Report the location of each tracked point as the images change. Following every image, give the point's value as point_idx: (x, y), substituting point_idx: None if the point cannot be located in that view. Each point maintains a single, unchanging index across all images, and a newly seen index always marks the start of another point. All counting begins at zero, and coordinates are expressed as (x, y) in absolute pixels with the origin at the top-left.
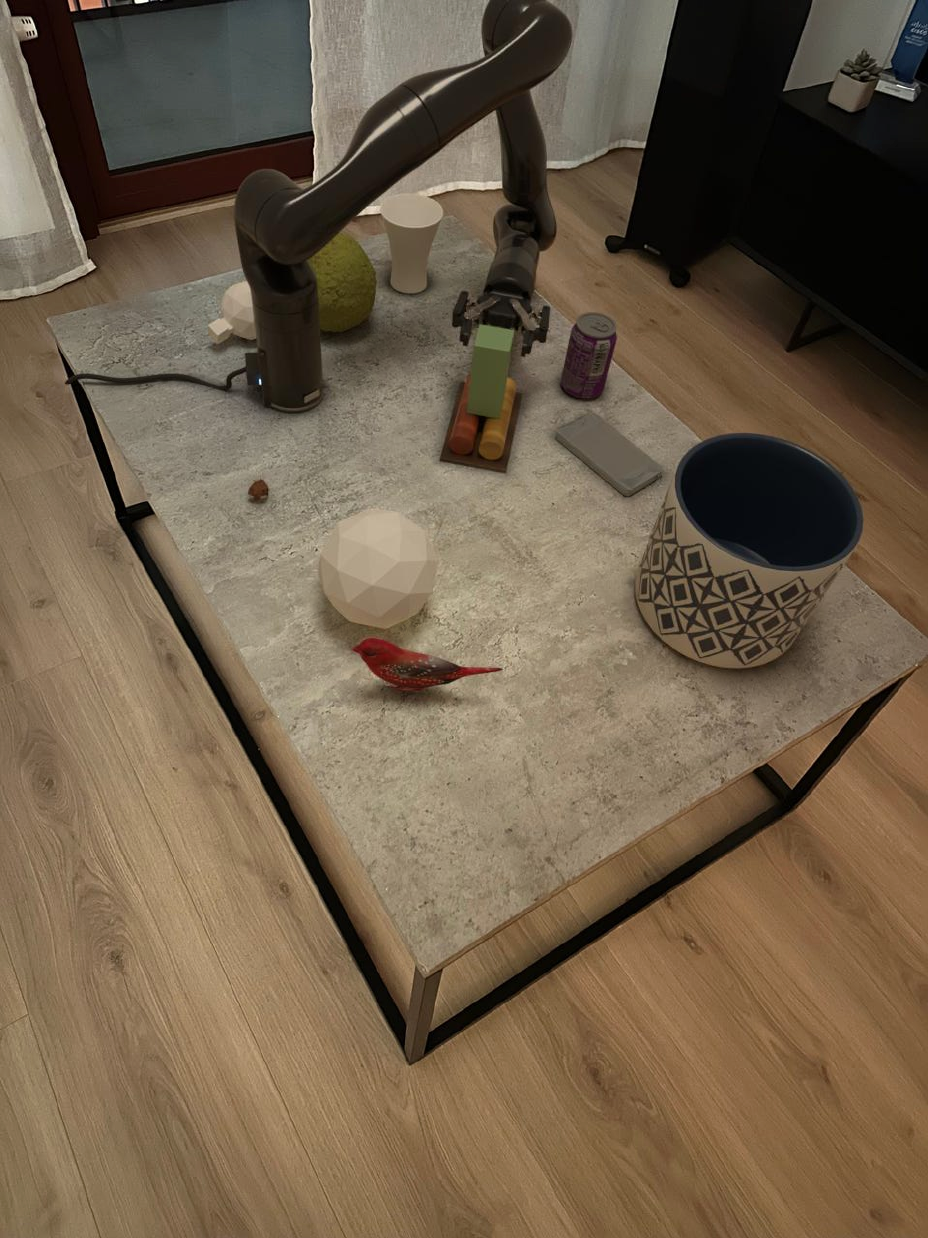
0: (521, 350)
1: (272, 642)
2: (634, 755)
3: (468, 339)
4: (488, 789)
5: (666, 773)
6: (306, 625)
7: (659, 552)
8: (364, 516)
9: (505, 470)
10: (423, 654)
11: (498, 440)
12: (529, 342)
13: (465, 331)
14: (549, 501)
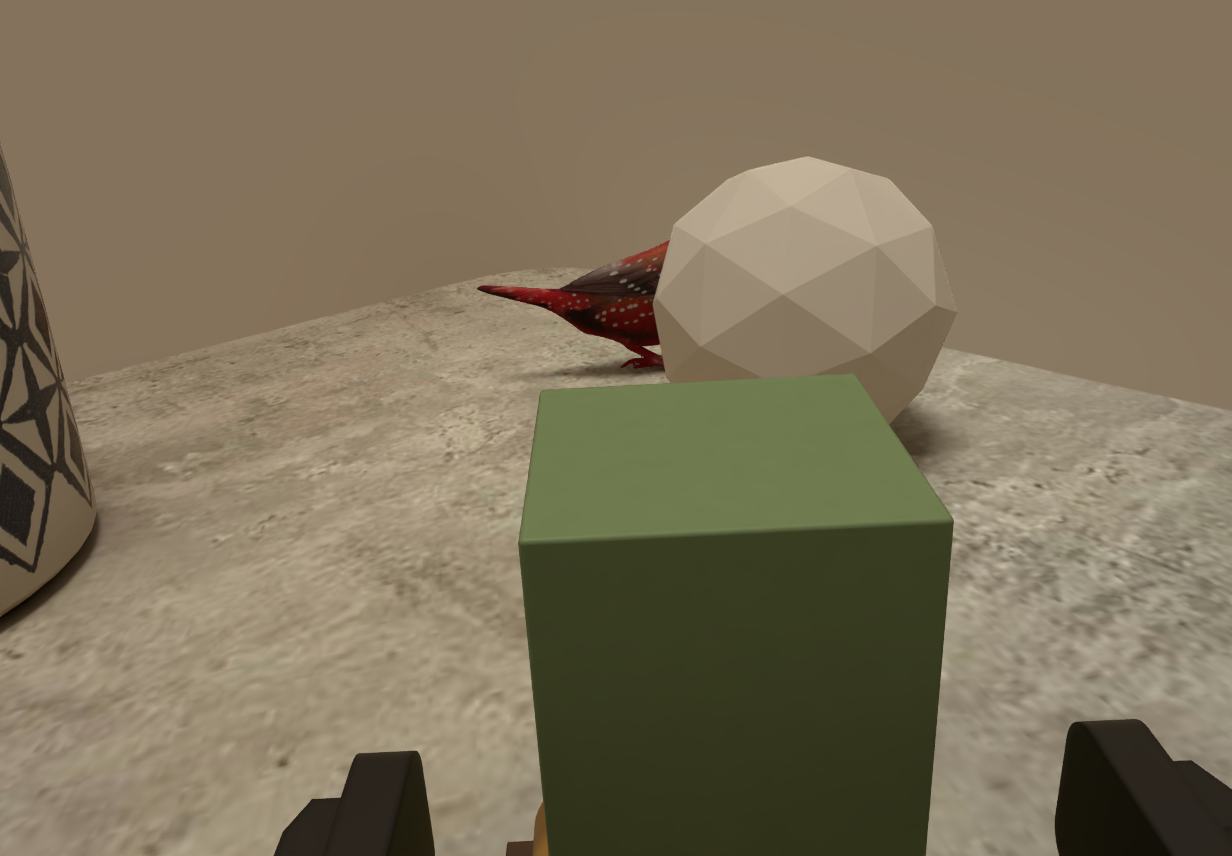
0: (424, 793)
1: (957, 370)
2: (233, 375)
3: (1083, 829)
4: (492, 327)
5: (183, 371)
6: None
7: (35, 286)
8: (856, 173)
9: (512, 844)
10: (632, 260)
11: None
12: (315, 852)
13: (1145, 740)
14: (297, 770)
